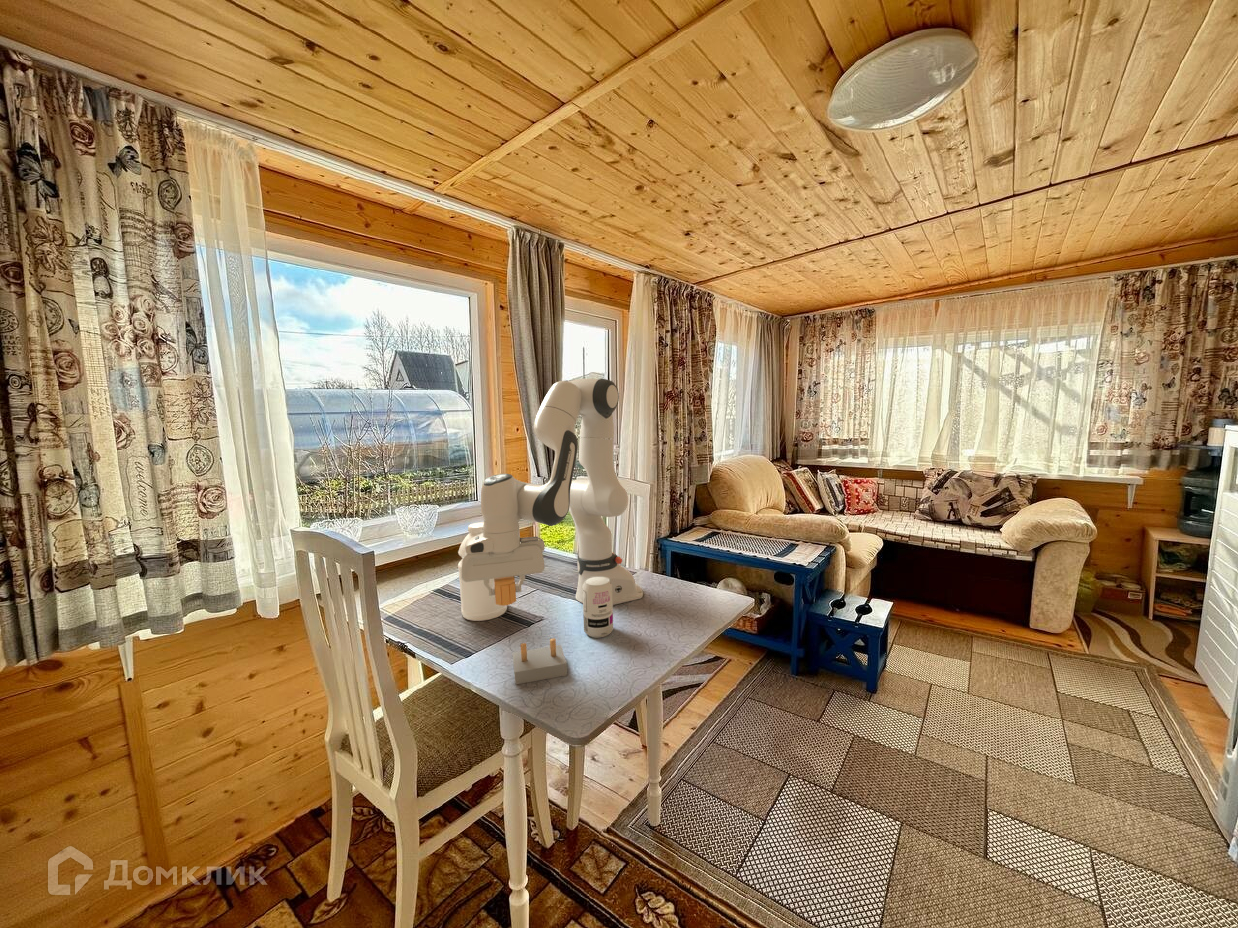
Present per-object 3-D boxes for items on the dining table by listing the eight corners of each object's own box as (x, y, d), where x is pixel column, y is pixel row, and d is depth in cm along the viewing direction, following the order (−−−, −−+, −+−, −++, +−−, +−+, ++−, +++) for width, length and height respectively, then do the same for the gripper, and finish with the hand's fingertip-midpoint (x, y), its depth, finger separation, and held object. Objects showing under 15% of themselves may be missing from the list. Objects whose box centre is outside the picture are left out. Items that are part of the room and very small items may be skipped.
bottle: (495, 623, 137) (489, 531, 133) (452, 620, 139) (446, 530, 136) (514, 603, 150) (510, 519, 147) (476, 601, 153) (470, 518, 150)
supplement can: (597, 622, 136) (595, 573, 134) (619, 630, 131) (617, 579, 129) (578, 633, 130) (576, 581, 128) (600, 641, 124) (598, 588, 123)
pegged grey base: (561, 655, 118) (560, 629, 117) (567, 675, 109) (565, 647, 108) (513, 664, 115) (511, 637, 114) (515, 684, 106) (513, 656, 105)
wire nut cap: (515, 595, 120) (514, 573, 119) (516, 603, 115) (515, 580, 114) (495, 598, 119) (494, 576, 118) (495, 606, 114) (494, 583, 113)
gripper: (542, 532, 121) (545, 583, 122) (460, 540, 115) (464, 593, 117) (545, 539, 115) (548, 592, 116) (458, 548, 109) (462, 603, 111)
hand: (505, 593), depth 117 cm, fingers closed on wire nut cap, 5 cm apart
